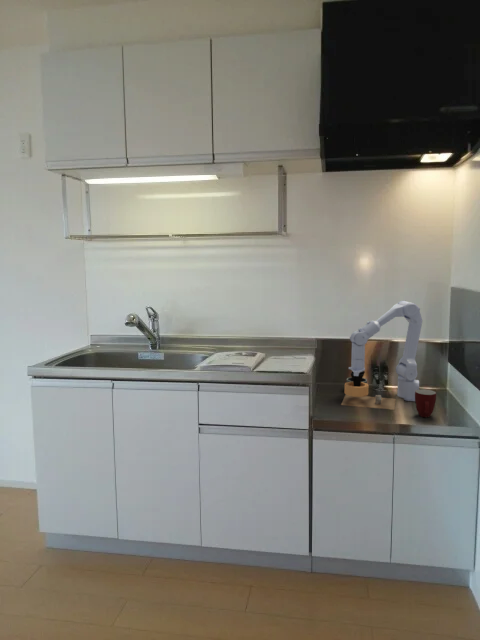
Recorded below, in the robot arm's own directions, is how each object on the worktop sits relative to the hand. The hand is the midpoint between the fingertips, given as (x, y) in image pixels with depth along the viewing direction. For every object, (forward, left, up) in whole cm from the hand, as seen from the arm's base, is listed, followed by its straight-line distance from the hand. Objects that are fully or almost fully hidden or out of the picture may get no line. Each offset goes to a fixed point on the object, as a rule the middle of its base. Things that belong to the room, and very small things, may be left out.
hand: (357, 388), depth 225 cm
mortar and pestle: (+2, -11, -6) cm, 13 cm away
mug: (-28, +14, -6) cm, 32 cm away
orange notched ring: (0, +4, -1) cm, 4 cm away
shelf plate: (-5, +4, -6) cm, 9 cm away
